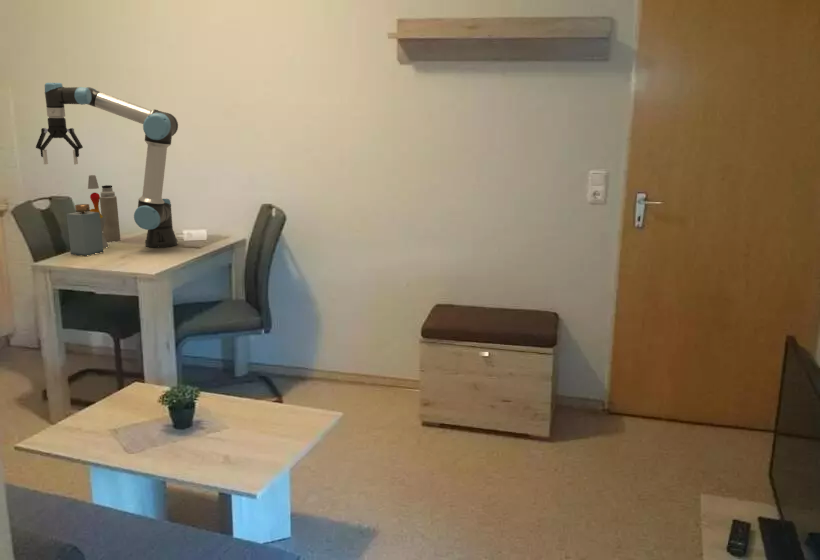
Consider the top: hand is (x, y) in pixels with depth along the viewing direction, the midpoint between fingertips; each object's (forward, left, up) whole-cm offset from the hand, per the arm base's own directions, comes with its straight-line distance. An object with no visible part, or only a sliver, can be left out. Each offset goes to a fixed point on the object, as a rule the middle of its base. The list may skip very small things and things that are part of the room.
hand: (61, 164), depth 357 cm
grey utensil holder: (-12, +1, -41) cm, 43 cm away
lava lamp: (-6, -12, -41) cm, 43 cm away
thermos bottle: (+4, -28, -41) cm, 50 cm away
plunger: (-12, +1, -40) cm, 42 cm away
